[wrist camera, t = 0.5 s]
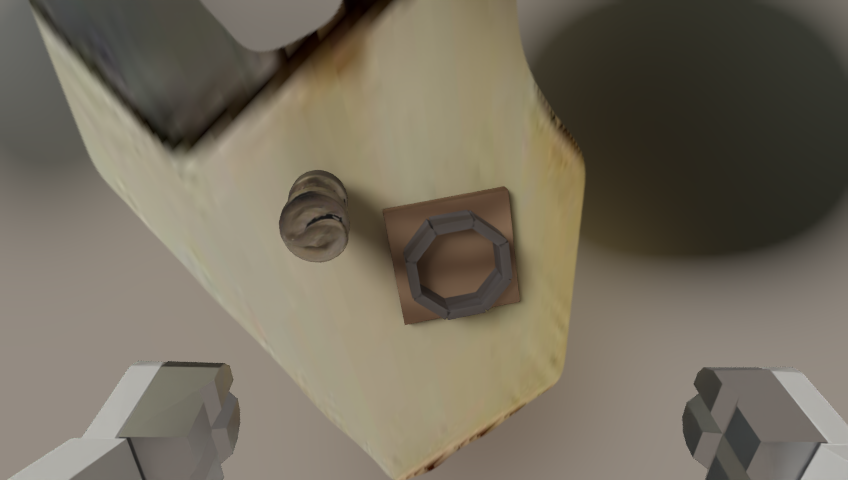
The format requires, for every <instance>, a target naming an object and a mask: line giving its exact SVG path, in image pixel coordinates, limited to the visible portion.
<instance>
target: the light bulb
mask: <svg viewBox="0 0 848 480" xmlns="http://www.w3.org/2000/svg"><path fill="white" fill-rule="evenodd" d="M347 205H348V203H347V194H346V191H345V188H344V186H343V184H342V182H341V181H340V180H339V179H338V178H337V177H336V176H334V175H333V174H331V173H329V172H326V171H322V170H314V171H309V172H306V173H305V174H303V175H301V176H300V177H299V178H298V179H297V180H296V181H295V183H294V184H293V186H292V188H291V190H290V192H289V197H288V202H287V203H286V205H285V206H284V208H283V210H282V213H281V216H280V221H279V229H280V234H281V237H282V239H283V241H284V243H285V245H286V246H287V248H288V249H289V250H290V251H291V252H292V253H293V254H294V255H296V256H297V257H299V258H301V259H303V260H306V261H310V262H326V261H329V260H332V259H334V258H335V257H337V256H339V255H340V254H341V253H342V252H343V251H344V249H345V248H346V245H347V243H348V234H349V230H350V222H349V218H348V212H347Z"/></svg>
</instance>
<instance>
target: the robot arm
mask: <svg viewBox="0 0 848 480" xmlns="http://www.w3.org/2000/svg"><path fill="white" fill-rule="evenodd" d="M232 382H233V376H232V373H231V369H230V366H229V365H227V364H225V363H201V362H200V363H198V362H172V361H168V362H151V361H138V362H136V363H134V364H133V365H131V366H130V367H129V368H128V370H127V371H126V373H125V374H124V376H123V377H122V379H121V380H120V382H119V383H118V385H117V386H116V388H115V389H114V391H113V392H112V394H111V395H110V396H109V398H108V399H107V401H106V402H105V404H104V405H103V407H102V408H101V410H100V411H99V413H98V414H97V416H96V417H95V419H94V420H93V422H92V423H91V425H90V426H89V428H88V429H87V430H86V432H85V433H84V435H83V436H82V438H72V439H70V440H68V441H67V442H65V443H64V444H62V445H60V446H59V447H57V448H56V449H54V450H53V451H51V452H49V453H48V454H47V455H45V456H43V457H42V458H40V459H39V460H37V461H35V462H34V463H32V464H31V465H29V466H28V467H26V468H25V469H23V470H21V471H20V472H18V473H17V474H15V475H14V476H12V477H11V478H9V479H7V480H223V479H224V476H223V472H222V468H221V463H223V462H224V461H225V460H226V459H227V458H228V457H230V456H231V455H232V454H233V451H234V448H235V445H236V442H237V439H238V432H239V426H240V408H239V403H238V399H237V398H236V397H235V396H234V395H233V394H231V393H230V392H229V390H230V387H231V385H232ZM694 386H695V387H696V389H697V391H698V393H699V394H697V395H696V396H695V397H693V398H692V399H691V400H690V401H688V402H687V403H686V406H685V410H684V413H683V416H682V421H683V434H684V438H685V441H686V445H687V447H688V449H689V451H690V453H691V455H692V457H693V458H694V459H695V460H697V461H698V462H699V463H701V464H702V465H703V466H704V467H706V468H707V469H708V471H707V474H706V478H705V480H848V425H847V424H846V423H845V421H844V420H843V419H842V418H841V417H840V416H839V414H838V413H837V412H836V411H835V410H834V409H833V408H832V407H831V405H830V404H829V403H828V402H827V401H826V400H825V398H824V397H823V396H822V395H821V394H820V393H819V392H818V390H817V389H816V388H815V387H814V386H813V385H812V383H811V382H810V381H809V380H808V379H807V378H806V377H805V375H804V374H803V373H802V372H800V371H799V370H797V369H795V368H793V367H762V368H758V367H757V368H756V367H745V368H744V367H737V368H736V367H733V368H732V367H730V368H729V367H718V368H717V367H716V368H715V367H704V368H703V369H702V370H701V371H699V372H698V374H697V376H696V379H695V381H694Z"/></svg>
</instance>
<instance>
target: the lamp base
mask: <svg viewBox="0 0 848 480" xmlns="http://www.w3.org/2000/svg"><path fill="white" fill-rule="evenodd" d="M383 214H384V219H385V224H386V230H387V235H388V240H389V245H390V250H391V255H392V261H393V266H394V271H395V276H396V281H397V287H398V292H399V297H400V302H401V307H402V312H403V318H404V323H405V325H407V324H412V323H417V322H422V321H427V320H432V319H437V318H444V319H446V318H448V320H450V319H455V318H460V317H465V316H470V315H475V314H480V313H484V312H485V309H486V310H489V309H490V308H491V307H496V306H500V305H505V304H510V303H515V302H520V300H519V290H518V280H517V271H516V261H515V251H514V242H513V232H512V222H511V213H510V203H509V193H508V189H507V188H505V187H498V188H493V189H488V190H482V191H477V192H472V193H467V194H461V195H456V196H451V197H445V198H440V199H435V200H430V201H424V202H419V203H414V204H408V205H403V206H398V207H392V208H387V209H383Z"/></svg>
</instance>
